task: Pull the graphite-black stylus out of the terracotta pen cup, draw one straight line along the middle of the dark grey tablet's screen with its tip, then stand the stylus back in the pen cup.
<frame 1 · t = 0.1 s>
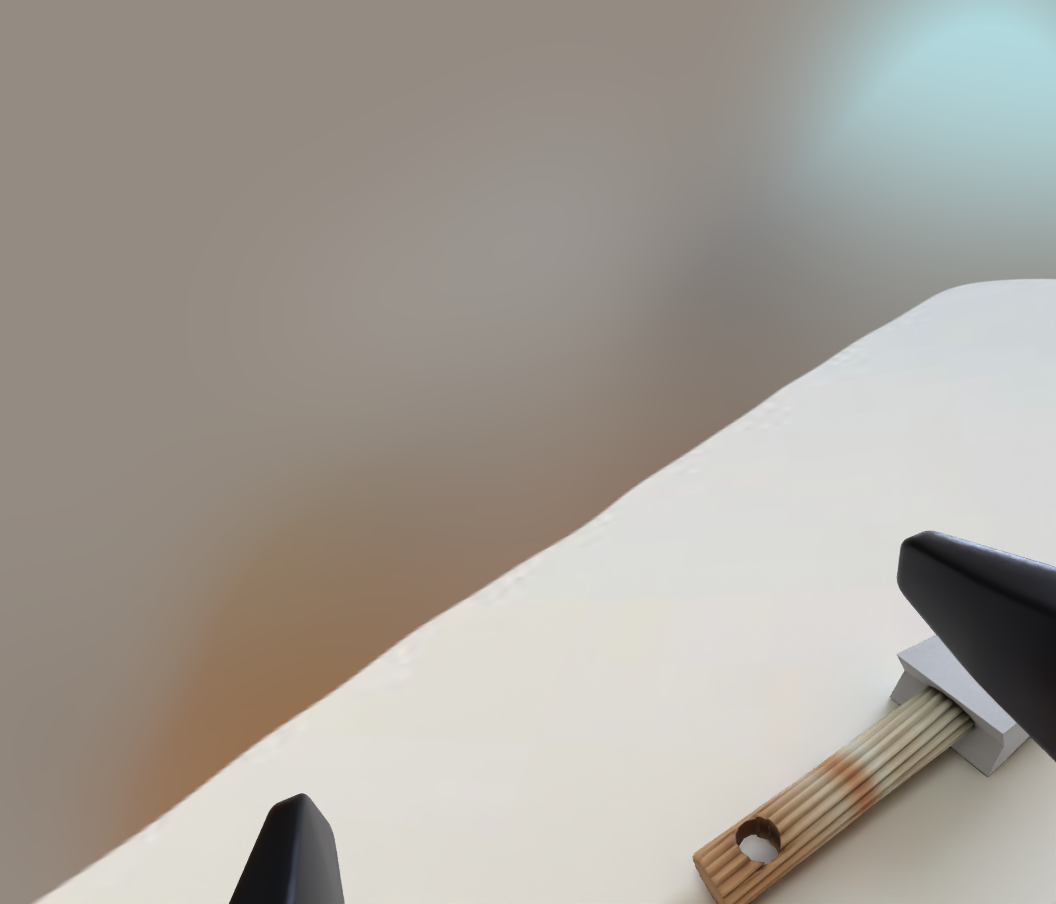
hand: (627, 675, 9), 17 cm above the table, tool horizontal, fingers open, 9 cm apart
paintbrush: (930, 742, 23), on the table
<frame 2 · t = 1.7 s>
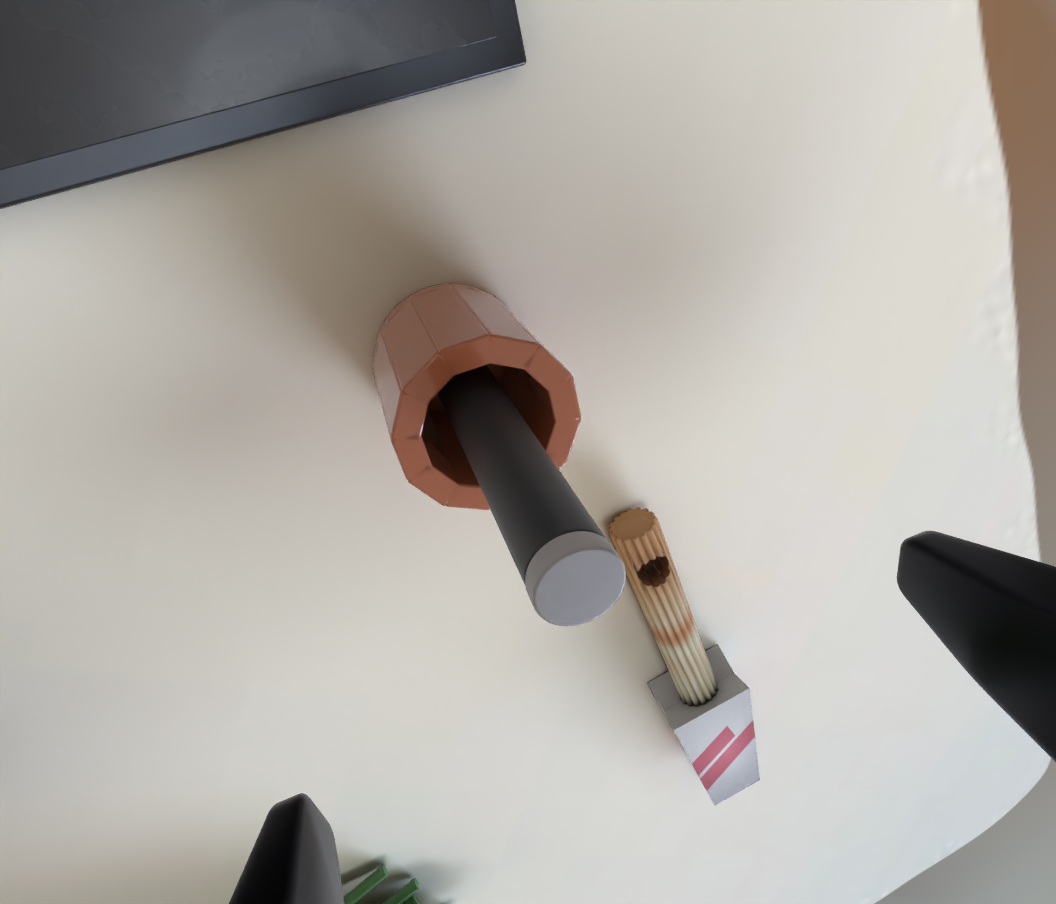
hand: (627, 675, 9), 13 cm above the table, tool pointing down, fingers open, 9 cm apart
pen cup: (450, 358, 20), on the table
paintbrush: (678, 657, 30), on the table
stylus: (453, 364, 19), resting on pen cup
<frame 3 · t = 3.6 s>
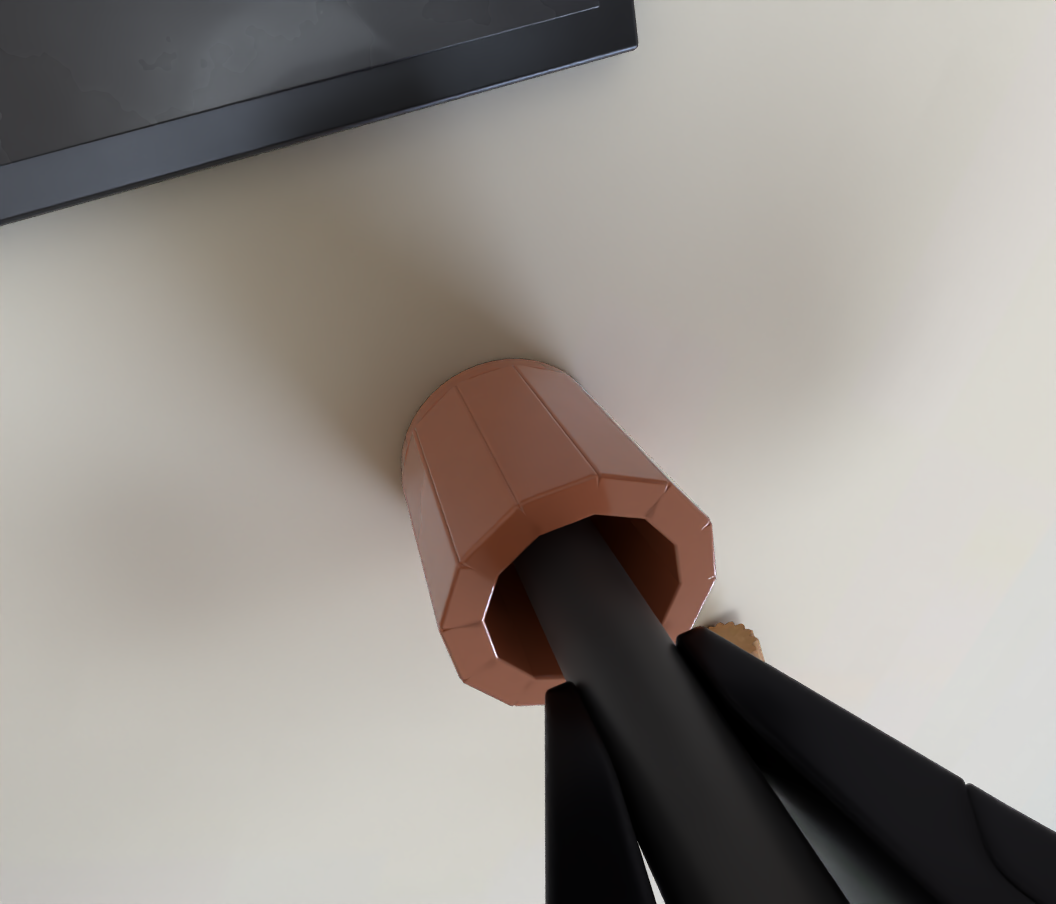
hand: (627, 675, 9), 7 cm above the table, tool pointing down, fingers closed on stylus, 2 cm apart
pen cup: (504, 455, 14), on the table
paintbrush: (758, 775, 25), on the table
stylus: (510, 466, 14), resting on pen cup, touching gripper
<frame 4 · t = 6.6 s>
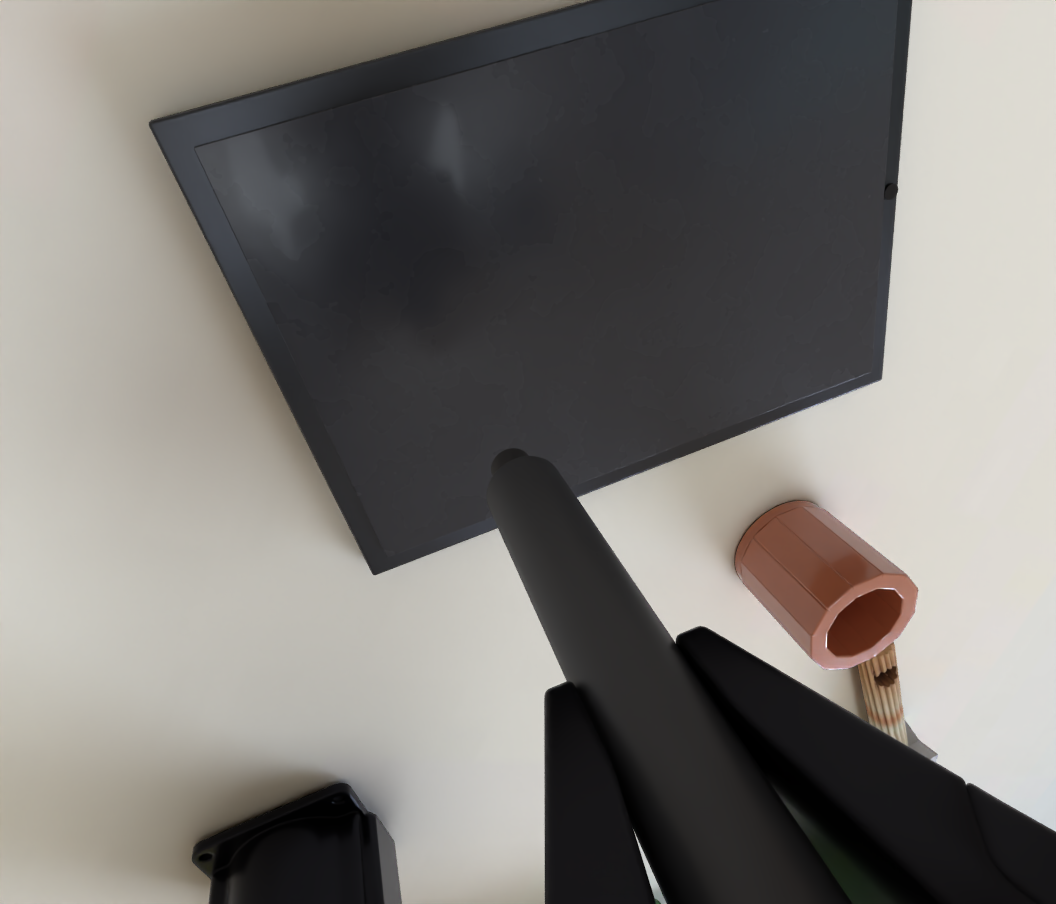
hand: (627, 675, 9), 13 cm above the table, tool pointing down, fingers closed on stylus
tablet: (603, 279, 20), on the table
pen cup: (781, 544, 28), on the table
paintbrush: (871, 726, 38), on the table
stylus: (510, 465, 14), point 7 cm above the table, touching gripper
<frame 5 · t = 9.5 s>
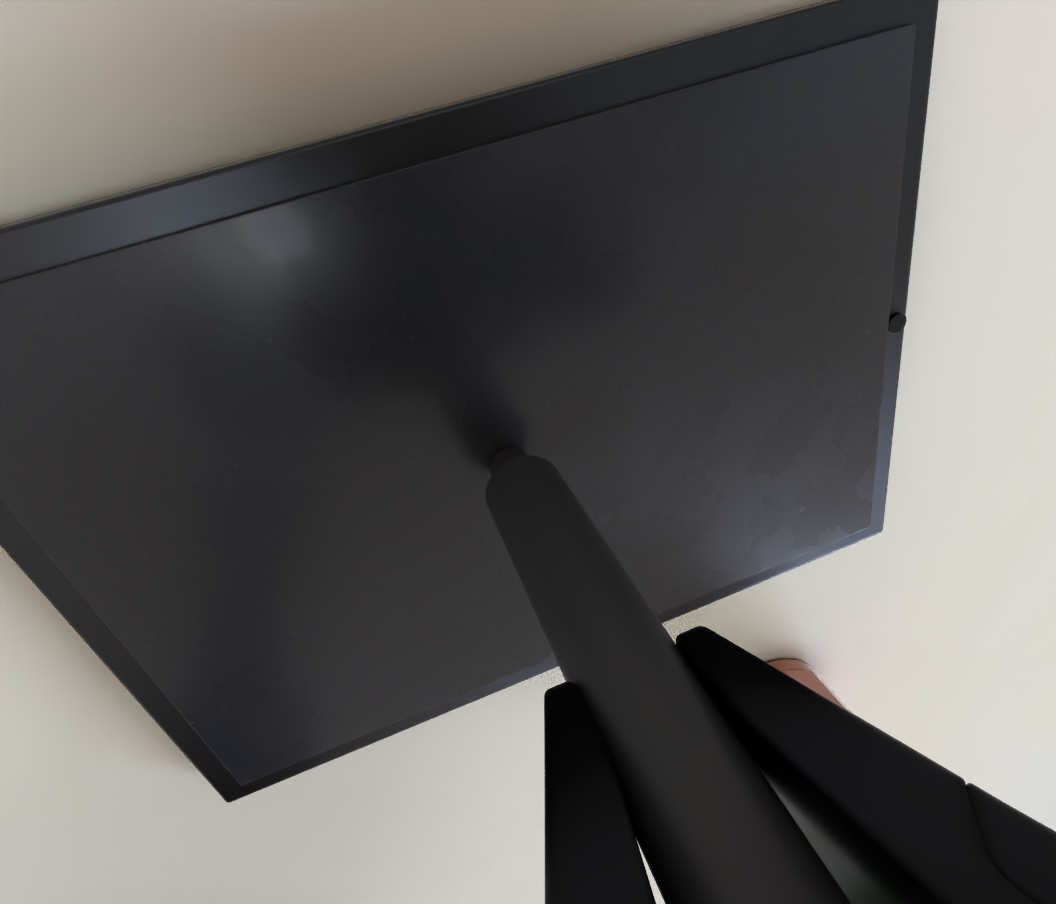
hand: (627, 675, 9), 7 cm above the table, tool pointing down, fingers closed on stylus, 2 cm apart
tablet: (518, 441, 15), on the table
pen cup: (759, 706, 23), on the table
stylus: (509, 464, 14), point 1 cm above the table, touching gripper
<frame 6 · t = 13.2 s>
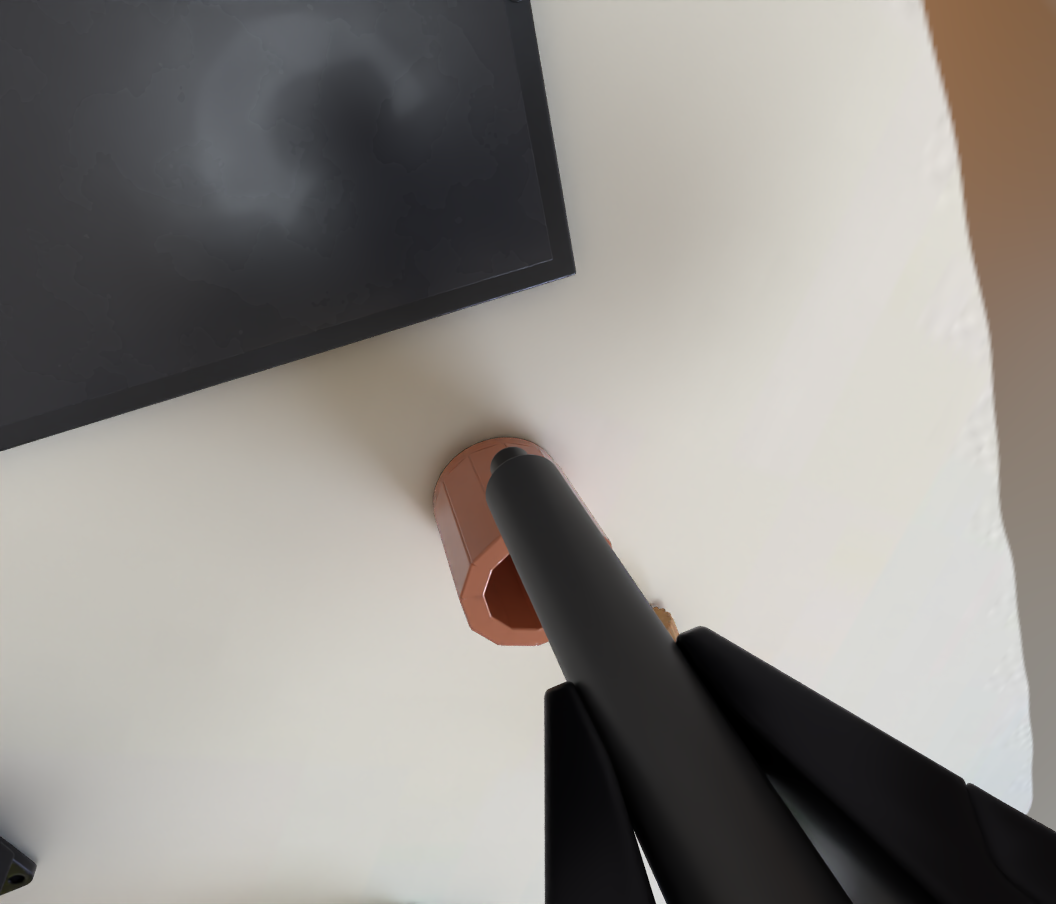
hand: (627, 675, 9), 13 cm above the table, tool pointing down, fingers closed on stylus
tablet: (99, 90, 14), on the table
pen cup: (497, 494, 22), on the table
paintbrush: (688, 725, 33), on the table
stylus: (509, 463, 14), point 7 cm above the table, touching gripper
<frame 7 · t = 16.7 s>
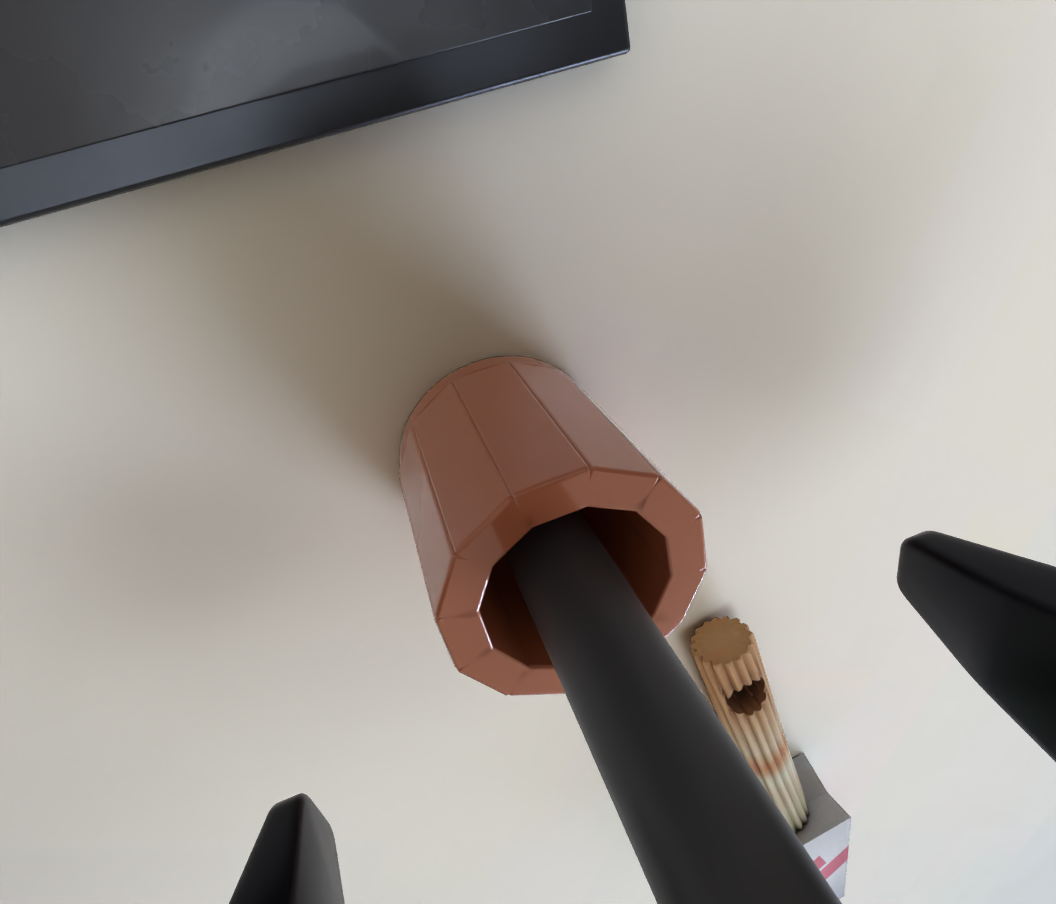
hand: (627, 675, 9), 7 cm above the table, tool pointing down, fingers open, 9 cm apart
pen cup: (500, 451, 15), on the table
paintbrush: (756, 768, 25), on the table
stylus: (503, 460, 14), resting on pen cup
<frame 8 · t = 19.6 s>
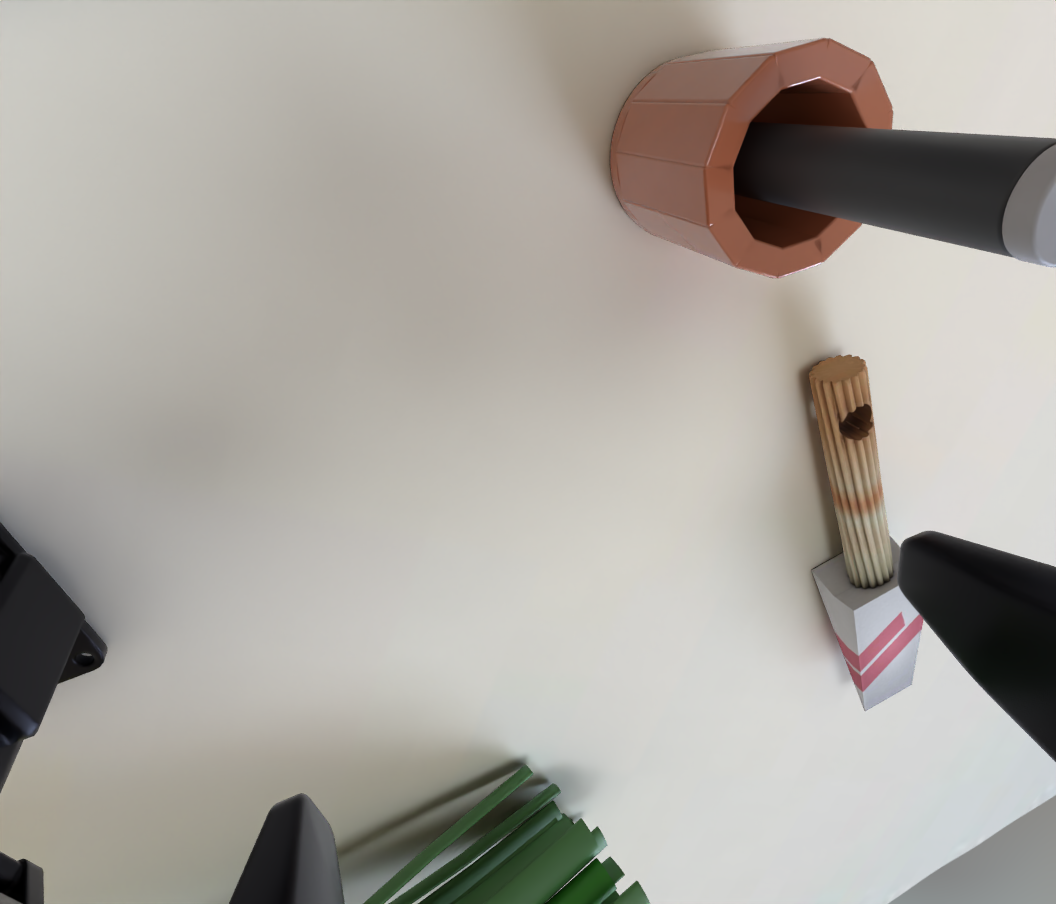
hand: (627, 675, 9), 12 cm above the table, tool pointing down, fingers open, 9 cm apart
pen cup: (685, 151, 18), on the table
paintbrush: (843, 543, 28), on the table
stylus: (691, 151, 17), resting on pen cup
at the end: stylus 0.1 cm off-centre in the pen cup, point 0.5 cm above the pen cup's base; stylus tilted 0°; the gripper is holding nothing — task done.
